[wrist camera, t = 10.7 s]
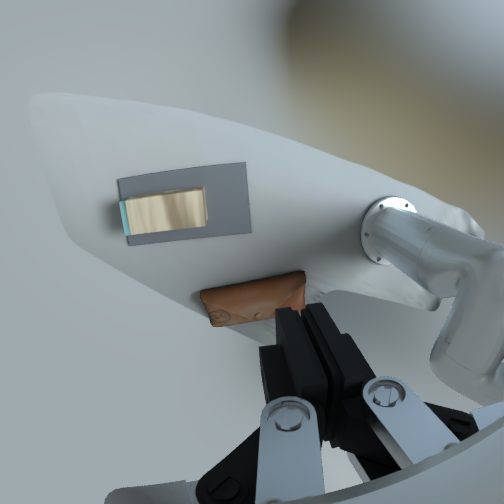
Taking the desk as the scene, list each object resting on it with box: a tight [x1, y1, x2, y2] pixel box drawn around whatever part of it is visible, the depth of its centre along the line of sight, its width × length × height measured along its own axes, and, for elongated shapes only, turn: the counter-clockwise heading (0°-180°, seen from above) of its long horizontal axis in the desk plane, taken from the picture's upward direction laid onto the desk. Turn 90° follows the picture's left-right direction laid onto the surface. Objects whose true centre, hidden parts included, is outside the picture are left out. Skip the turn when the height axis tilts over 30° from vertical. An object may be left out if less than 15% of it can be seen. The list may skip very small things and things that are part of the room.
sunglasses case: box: [200, 271, 306, 327], centre depth 50 cm, size 18×7×7 cm
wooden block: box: [119, 186, 208, 236], centre depth 42 cm, size 5×5×12 cm
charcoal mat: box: [119, 162, 252, 246], centre depth 45 cm, size 20×11×1 cm, turn 94°
